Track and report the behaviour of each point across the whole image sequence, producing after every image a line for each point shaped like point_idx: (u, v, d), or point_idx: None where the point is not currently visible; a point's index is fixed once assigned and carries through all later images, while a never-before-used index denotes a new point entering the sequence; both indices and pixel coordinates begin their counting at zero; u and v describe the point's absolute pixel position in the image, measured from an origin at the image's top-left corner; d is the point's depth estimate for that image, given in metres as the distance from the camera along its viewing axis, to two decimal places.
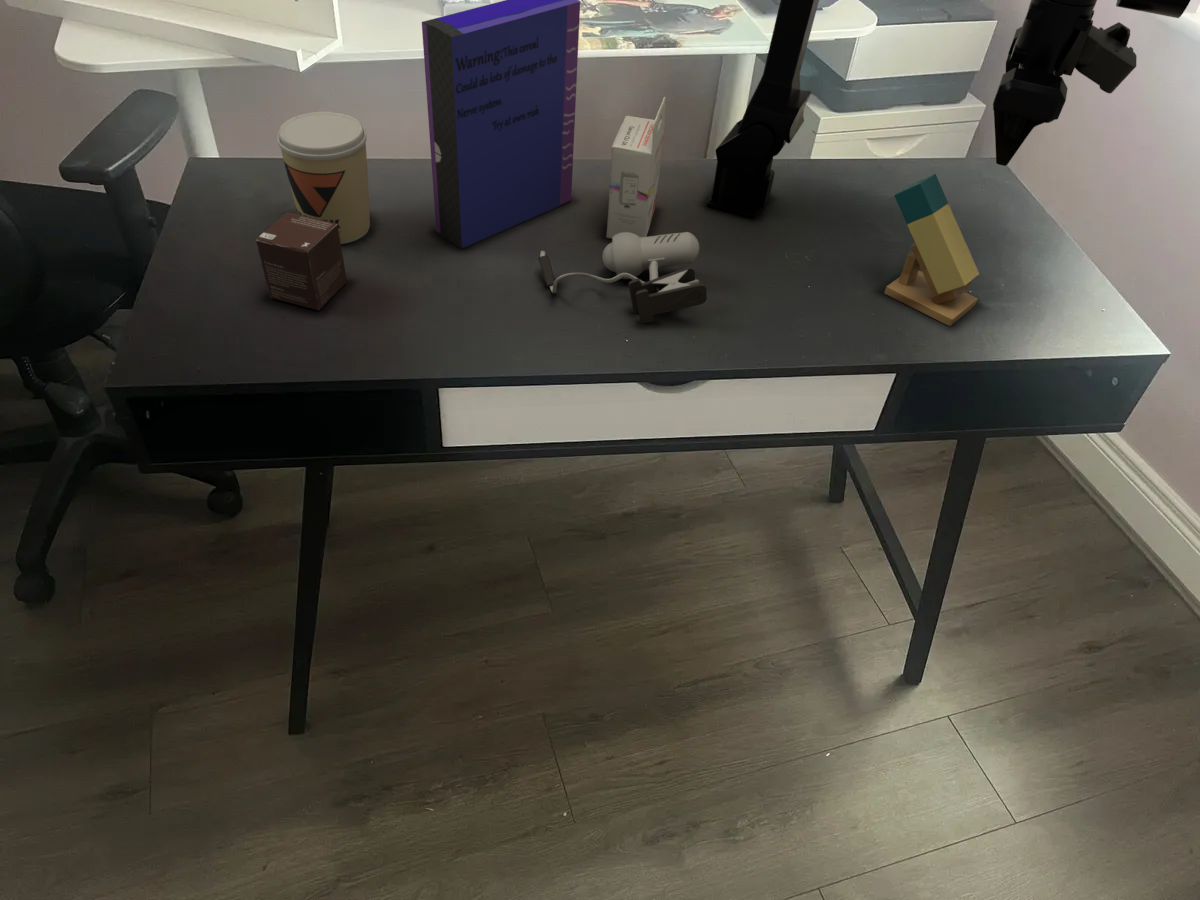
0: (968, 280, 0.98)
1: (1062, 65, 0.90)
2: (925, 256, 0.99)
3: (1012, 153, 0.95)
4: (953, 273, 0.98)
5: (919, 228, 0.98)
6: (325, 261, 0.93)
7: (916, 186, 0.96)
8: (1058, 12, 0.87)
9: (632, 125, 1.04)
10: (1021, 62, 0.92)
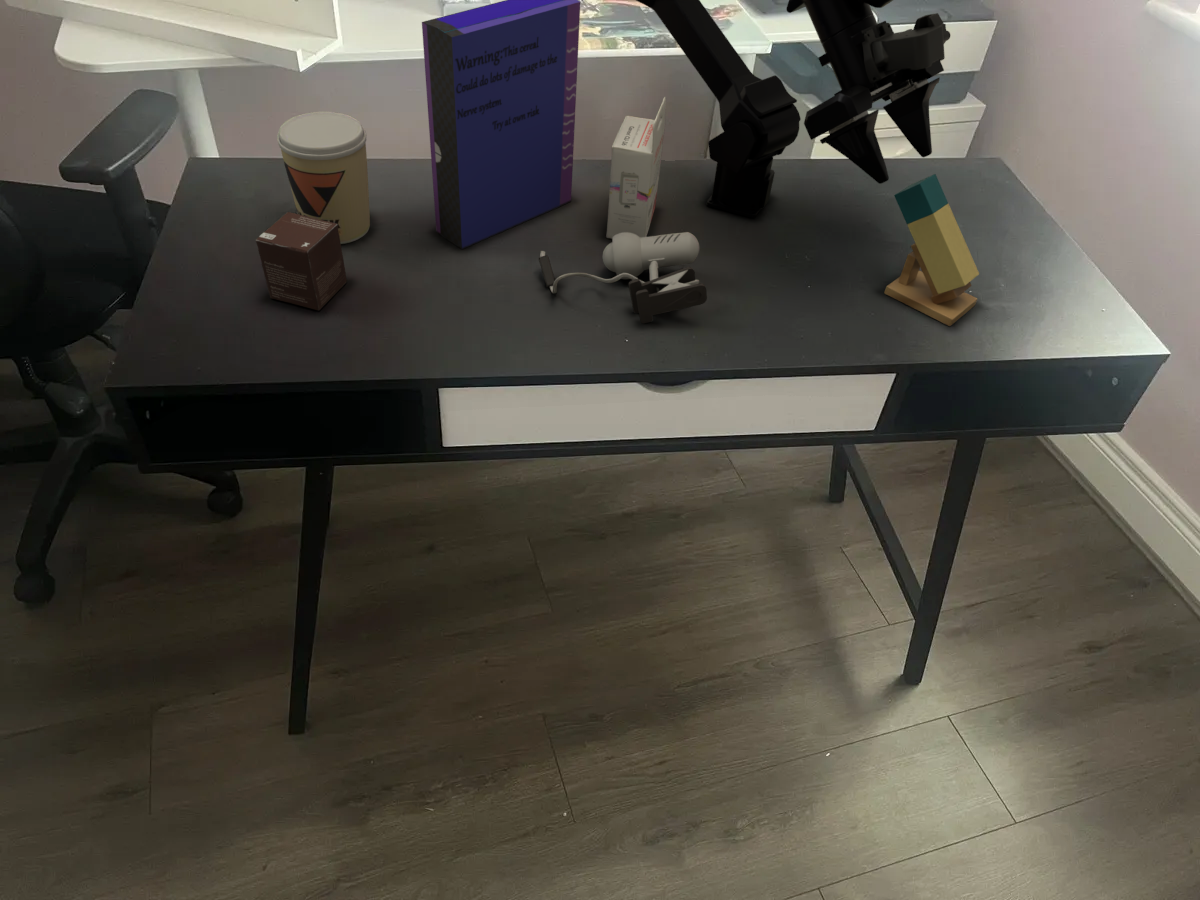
0: (968, 280, 0.98)
1: (868, 76, 0.93)
2: (925, 256, 0.99)
3: (880, 166, 0.94)
4: (953, 273, 0.98)
5: (919, 228, 0.98)
6: (325, 261, 0.93)
7: (916, 186, 0.96)
8: (833, 44, 0.94)
9: (632, 125, 1.04)
10: None
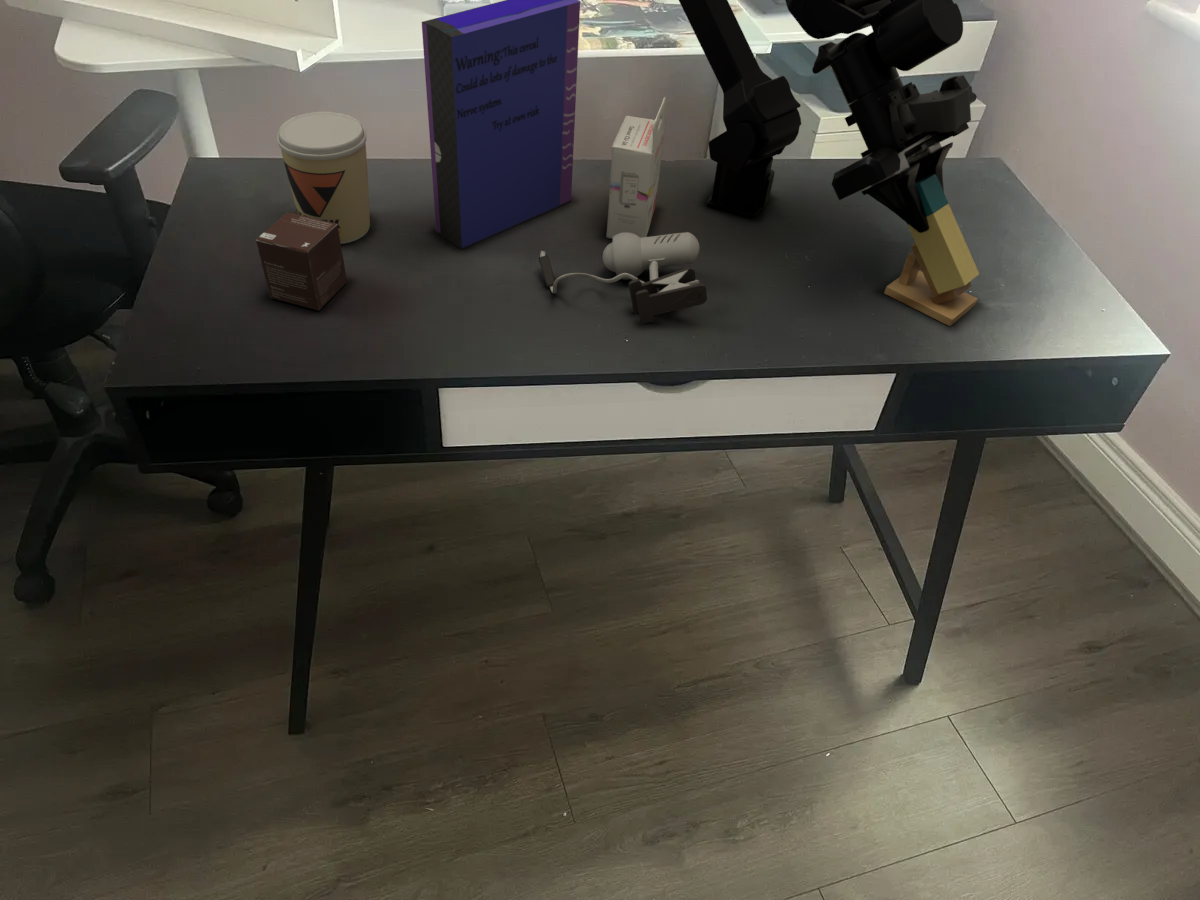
0: (968, 280, 0.98)
1: (895, 137, 0.94)
2: (925, 256, 0.99)
3: (921, 217, 0.97)
4: (954, 273, 0.98)
5: None
6: (325, 261, 0.93)
7: (916, 186, 0.96)
8: (860, 106, 0.95)
9: (632, 125, 1.04)
10: None
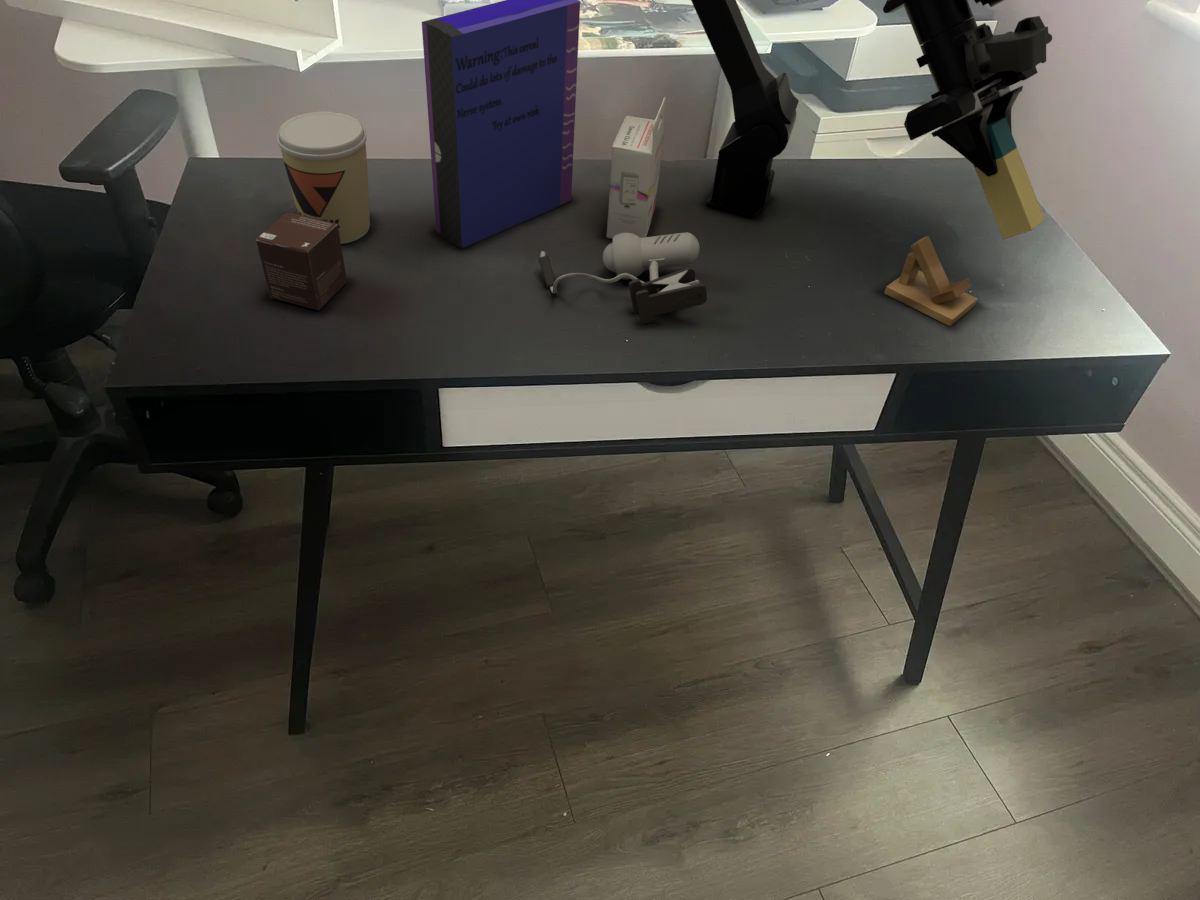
0: (1035, 225, 0.98)
1: (969, 78, 0.94)
2: (992, 200, 0.99)
3: (990, 160, 0.97)
4: (1021, 217, 0.98)
5: None
6: (325, 261, 0.93)
7: None
8: (934, 45, 0.95)
9: (632, 125, 1.04)
10: None
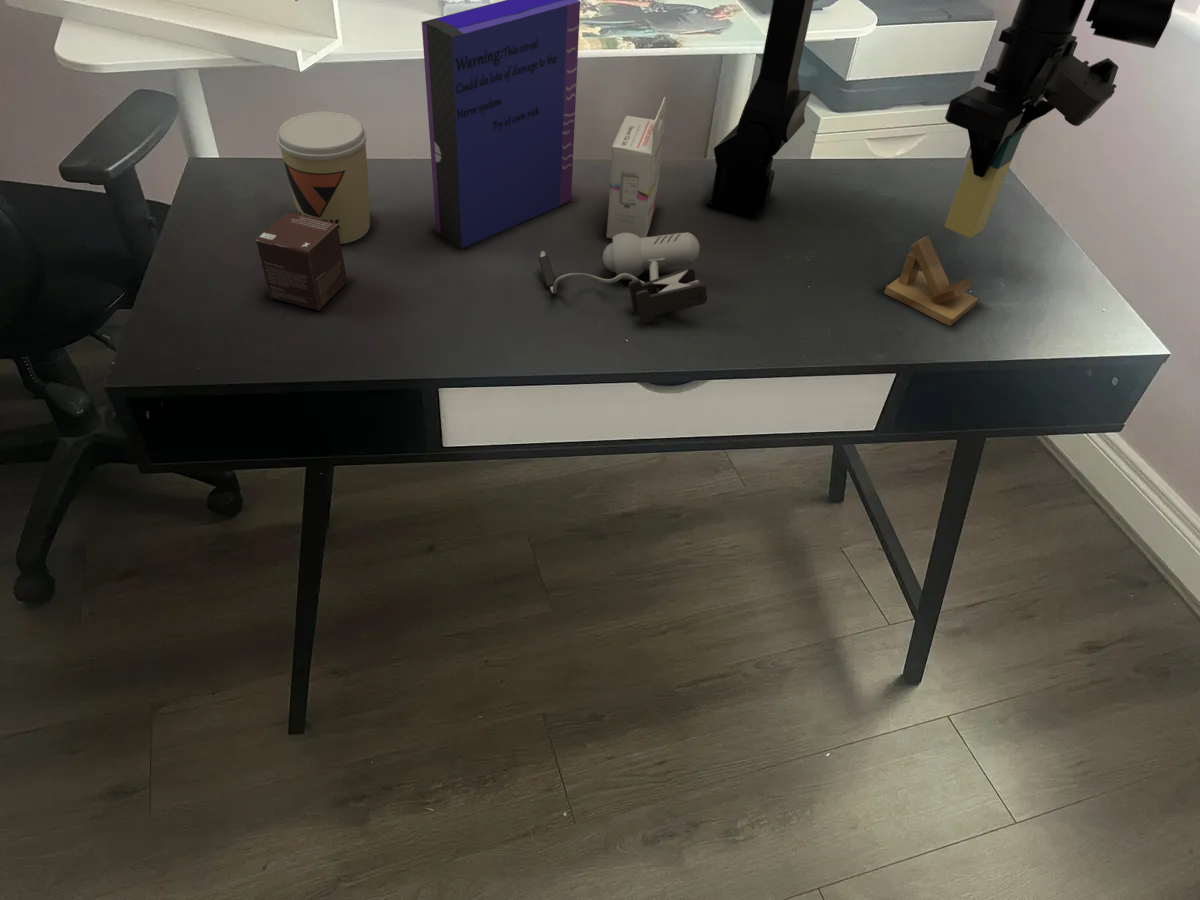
0: (974, 234, 1.04)
1: (1028, 91, 0.90)
2: (960, 193, 1.01)
3: (987, 165, 0.97)
4: (970, 223, 1.02)
5: None
6: (325, 261, 0.93)
7: None
8: (1025, 36, 0.88)
9: (632, 125, 1.04)
10: (994, 84, 0.93)
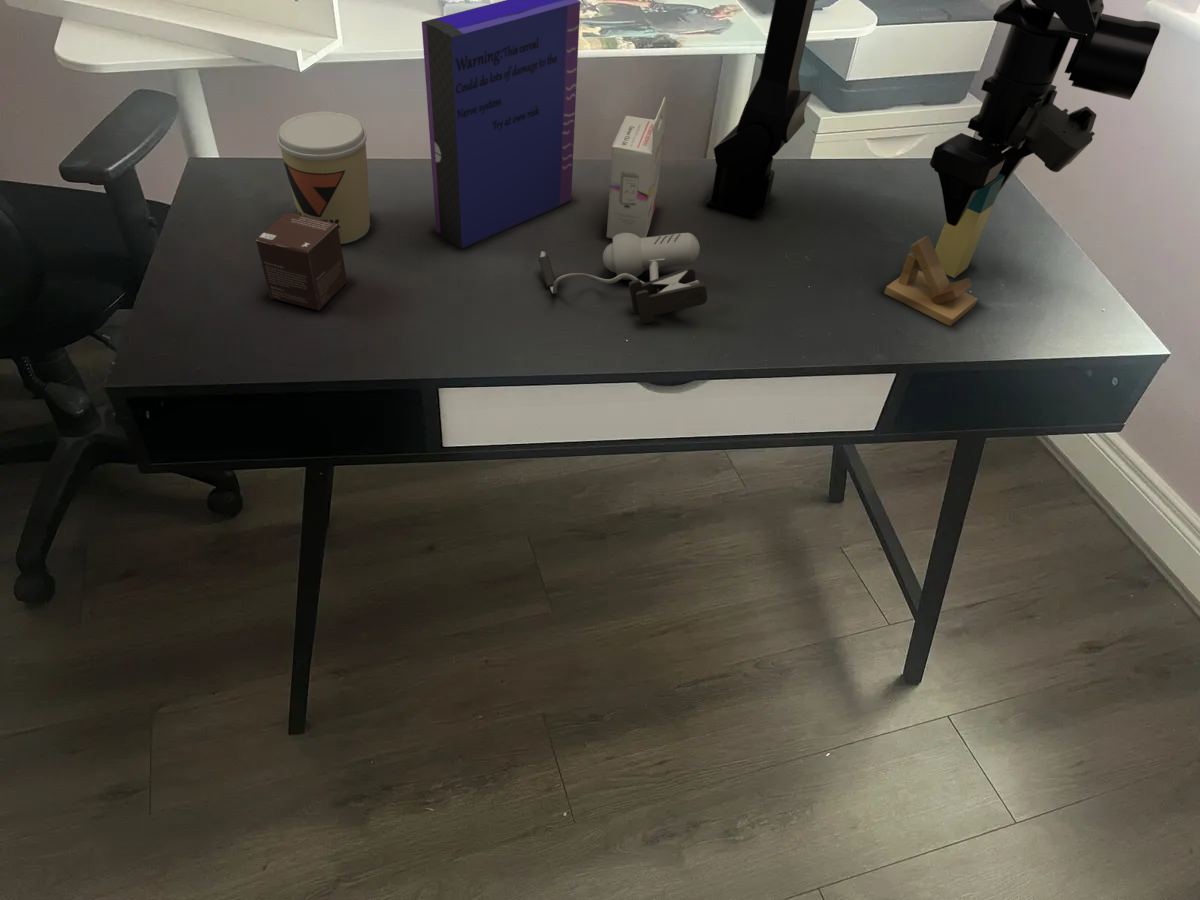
0: (958, 273, 1.07)
1: (1010, 138, 0.94)
2: (944, 235, 1.05)
3: (959, 215, 0.99)
4: (954, 264, 1.06)
5: None
6: (325, 261, 0.93)
7: None
8: (1007, 86, 0.92)
9: (632, 125, 1.04)
10: (977, 130, 0.96)
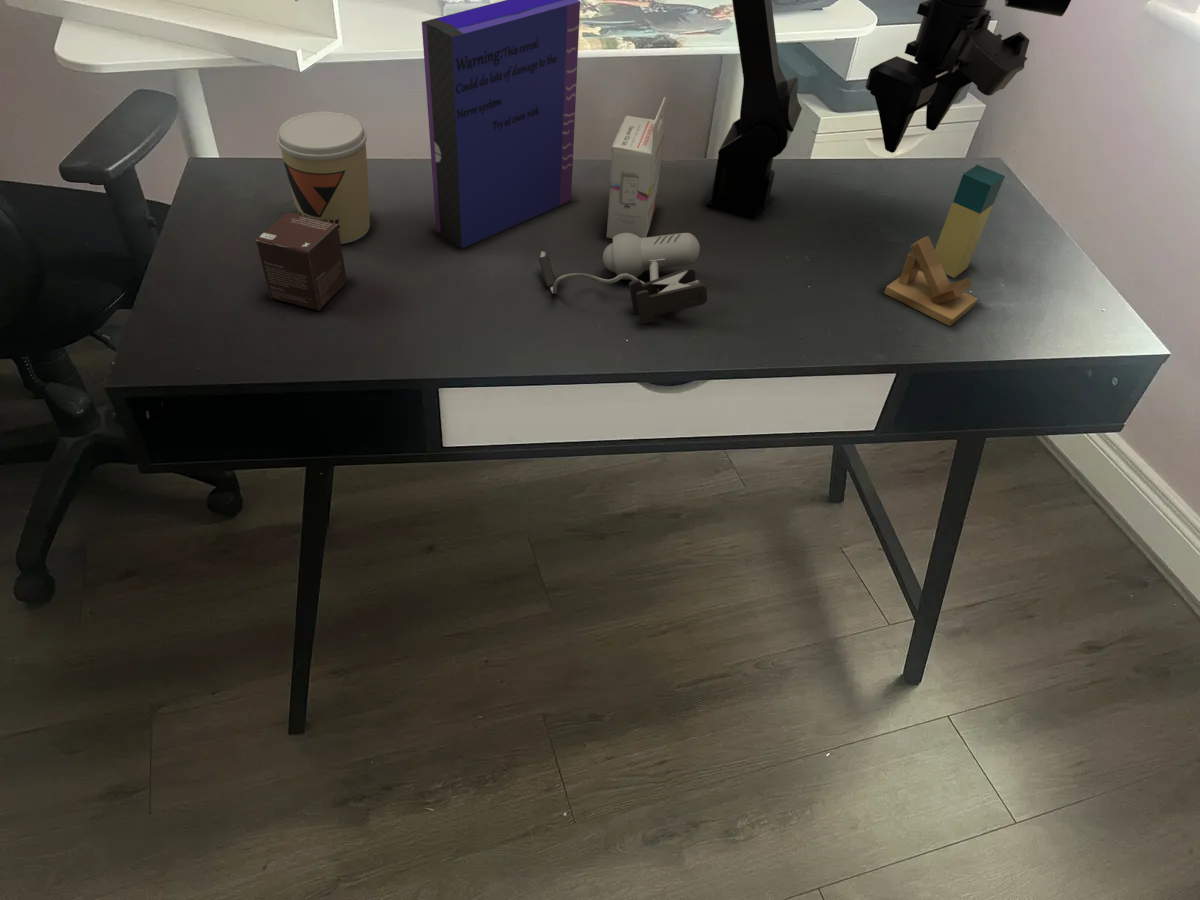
0: (958, 273, 1.07)
1: (944, 61, 0.95)
2: (944, 235, 1.05)
3: (896, 141, 1.01)
4: (954, 264, 1.06)
5: (959, 213, 1.03)
6: (325, 261, 0.93)
7: (986, 184, 0.99)
8: (940, 9, 0.93)
9: (632, 125, 1.04)
10: (913, 55, 0.98)
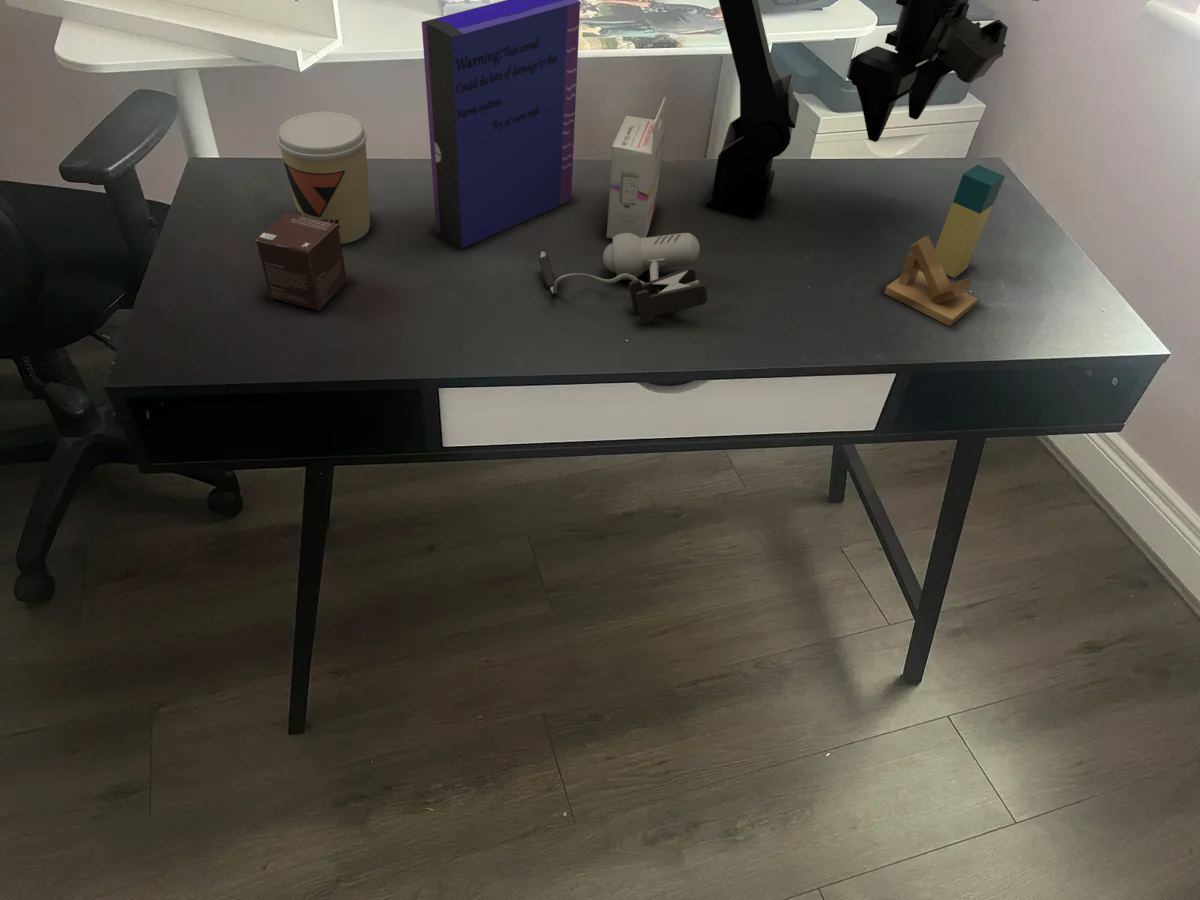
0: (958, 273, 1.07)
1: (924, 50, 0.96)
2: (944, 235, 1.05)
3: (879, 130, 1.02)
4: (954, 264, 1.06)
5: (959, 213, 1.03)
6: (325, 261, 0.93)
7: (986, 184, 0.99)
8: None
9: (632, 125, 1.04)
10: (893, 44, 0.99)
